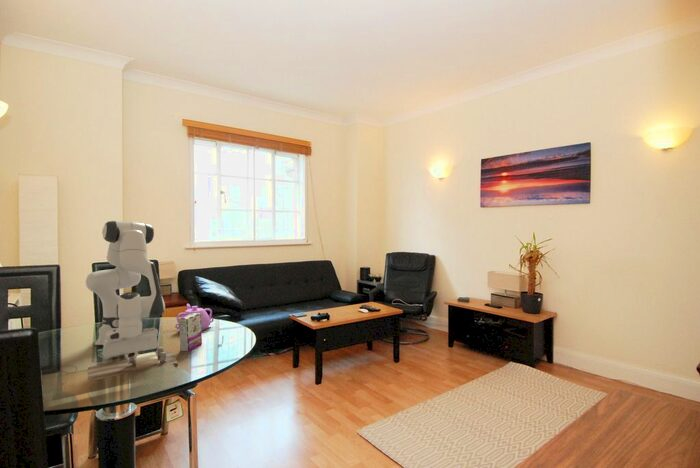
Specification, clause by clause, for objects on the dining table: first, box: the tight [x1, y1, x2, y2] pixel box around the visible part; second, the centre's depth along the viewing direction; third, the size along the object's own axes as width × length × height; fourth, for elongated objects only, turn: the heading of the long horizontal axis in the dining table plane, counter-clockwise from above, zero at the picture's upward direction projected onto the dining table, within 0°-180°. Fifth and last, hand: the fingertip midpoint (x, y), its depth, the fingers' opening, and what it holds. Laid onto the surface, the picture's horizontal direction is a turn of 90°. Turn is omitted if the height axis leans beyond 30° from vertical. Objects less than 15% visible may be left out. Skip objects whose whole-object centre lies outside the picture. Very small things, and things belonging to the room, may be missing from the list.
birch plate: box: [135, 351, 158, 368], centre depth 159 cm, size 10×8×2 cm
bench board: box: [87, 346, 179, 383], centre depth 156 cm, size 18×32×6 cm, turn 125°
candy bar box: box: [178, 313, 203, 352], centre depth 182 cm, size 11×5×16 cm, turn 168°
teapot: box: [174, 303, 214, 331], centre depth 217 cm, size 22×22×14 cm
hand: (131, 362), depth 156 cm, fingers closed
